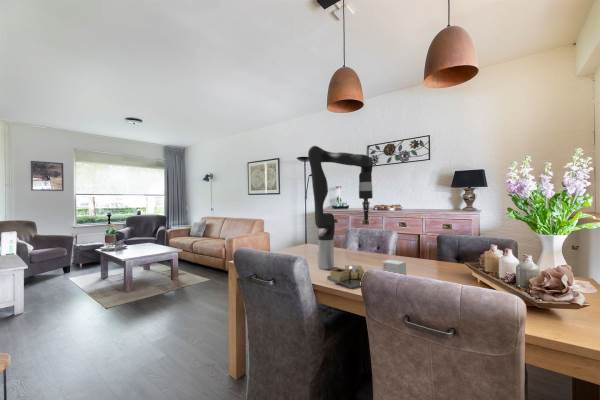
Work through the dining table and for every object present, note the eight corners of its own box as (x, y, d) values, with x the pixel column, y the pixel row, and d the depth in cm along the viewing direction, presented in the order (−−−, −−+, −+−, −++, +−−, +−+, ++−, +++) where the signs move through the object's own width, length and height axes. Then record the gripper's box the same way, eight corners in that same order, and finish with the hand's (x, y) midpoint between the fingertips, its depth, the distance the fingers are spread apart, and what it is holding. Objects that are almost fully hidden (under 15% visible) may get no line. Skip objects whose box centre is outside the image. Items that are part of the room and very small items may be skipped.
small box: (407, 291, 115) (406, 261, 115) (399, 295, 111) (398, 264, 111) (390, 287, 121) (389, 259, 121) (382, 290, 117) (382, 261, 117)
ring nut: (353, 271, 141) (352, 263, 141) (368, 276, 133) (368, 267, 133) (327, 278, 131) (327, 269, 131) (342, 283, 122) (342, 273, 122)
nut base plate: (327, 279, 135) (327, 266, 135) (351, 273, 144) (351, 262, 144) (351, 288, 120) (350, 274, 120) (376, 282, 129) (376, 269, 129)
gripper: (359, 190, 157) (359, 219, 157) (358, 190, 144) (359, 221, 144) (371, 190, 155) (372, 219, 155) (372, 189, 142) (373, 221, 142)
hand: (366, 220), depth 149 cm, fingers closed
